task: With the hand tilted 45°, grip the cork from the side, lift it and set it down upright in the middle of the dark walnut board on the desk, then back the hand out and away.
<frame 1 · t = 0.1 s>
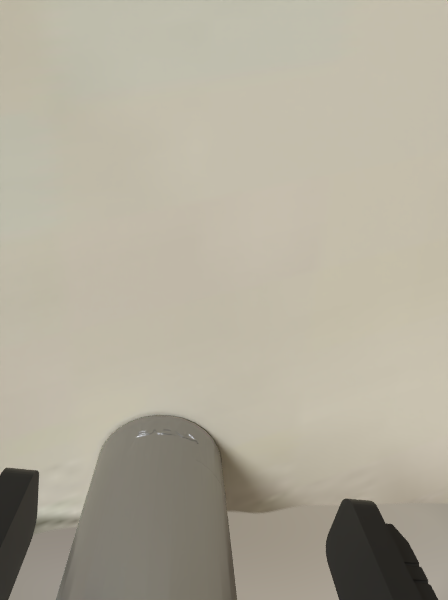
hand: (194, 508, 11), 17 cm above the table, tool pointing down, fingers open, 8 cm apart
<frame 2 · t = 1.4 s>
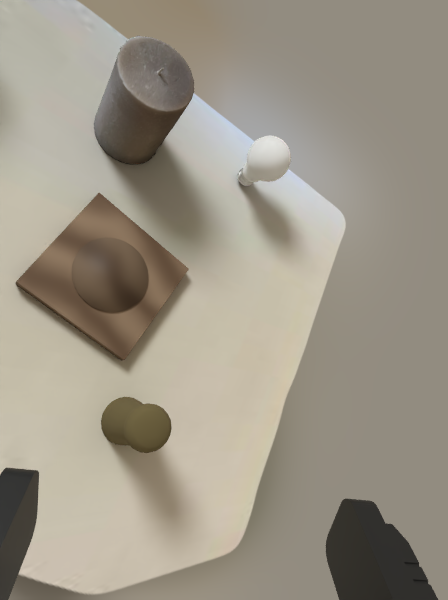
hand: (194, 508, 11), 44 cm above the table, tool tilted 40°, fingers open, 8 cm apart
walnut board: (108, 277, 56), on the table
light bulb: (241, 180, 70), on the table
pillar candle: (125, 133, 61), on the table
cork: (124, 420, 54), on the table
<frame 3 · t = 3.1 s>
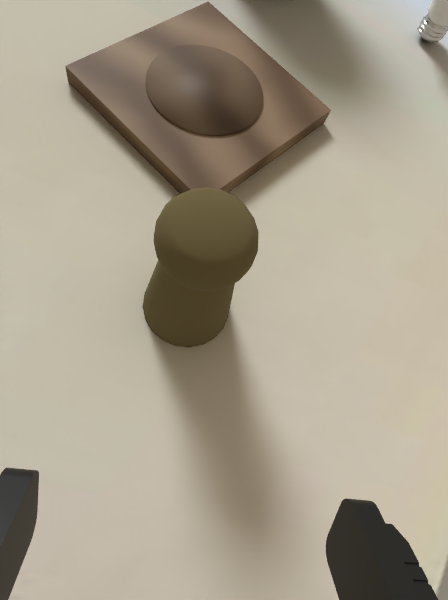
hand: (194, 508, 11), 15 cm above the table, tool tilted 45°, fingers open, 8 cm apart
walnut board: (203, 103, 36), on the table
light bulb: (424, 41, 46), on the table
cork: (186, 306, 29), on the table
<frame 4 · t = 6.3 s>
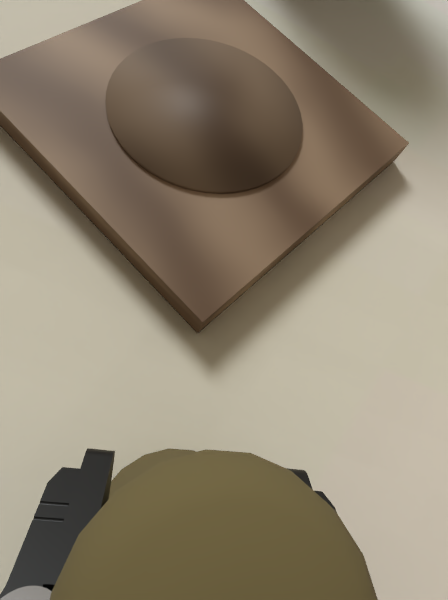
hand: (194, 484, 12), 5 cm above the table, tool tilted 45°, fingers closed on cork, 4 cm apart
walnut board: (203, 133, 22), on the table
cork: (172, 535, 15), on the table, touching gripper
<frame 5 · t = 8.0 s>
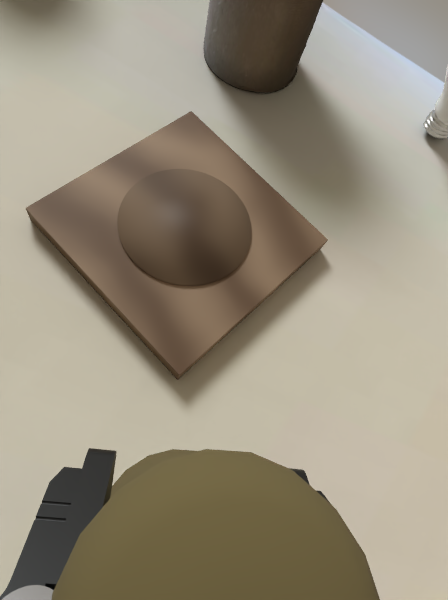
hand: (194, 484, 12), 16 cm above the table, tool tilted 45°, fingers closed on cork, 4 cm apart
walnut board: (184, 235, 32), on the table
light bulb: (430, 135, 42), on the table
pillar candle: (248, 59, 42), on the table
cork: (176, 536, 15), point 11 cm above the table, touching gripper
when the fingers open (7 cm above the table, at t = 11.5 s): cork stays where it is, resting on walnut board.
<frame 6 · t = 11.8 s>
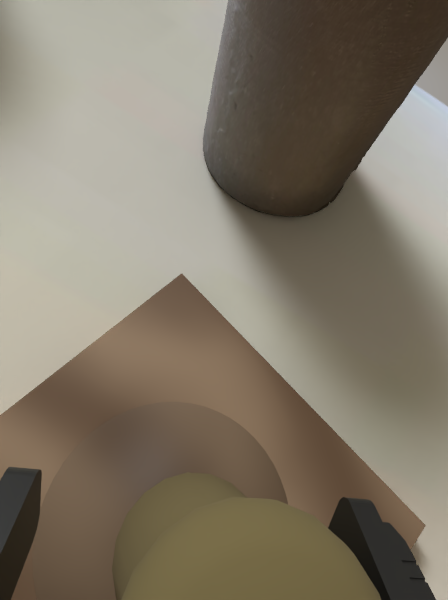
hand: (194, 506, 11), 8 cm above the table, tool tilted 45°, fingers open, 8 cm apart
walnut board: (167, 526, 18), on the table
pillar candle: (272, 155, 27), on the table
cork: (192, 555, 16), point 2 cm above the table, touching walnut board
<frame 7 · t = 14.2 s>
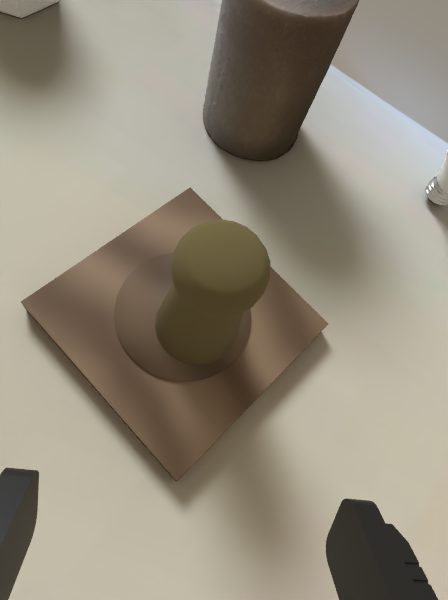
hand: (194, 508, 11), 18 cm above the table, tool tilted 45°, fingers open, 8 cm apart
walnut board: (182, 320, 32), on the table
light bulb: (432, 199, 42), on the table
pillar candle: (248, 123, 41), on the table
cork: (196, 325, 30), point 2 cm above the table, touching walnut board
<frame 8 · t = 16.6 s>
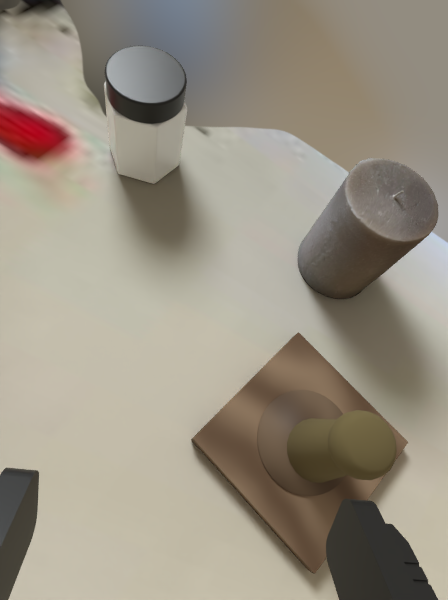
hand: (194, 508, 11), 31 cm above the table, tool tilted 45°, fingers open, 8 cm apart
walnut board: (300, 441, 43), on the table
pillar candle: (331, 263, 52), on the table
cork: (315, 449, 41), point 2 cm above the table, touching walnut board
jar: (144, 157, 52), on the table
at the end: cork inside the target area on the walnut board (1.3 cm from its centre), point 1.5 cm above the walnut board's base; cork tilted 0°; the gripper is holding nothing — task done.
